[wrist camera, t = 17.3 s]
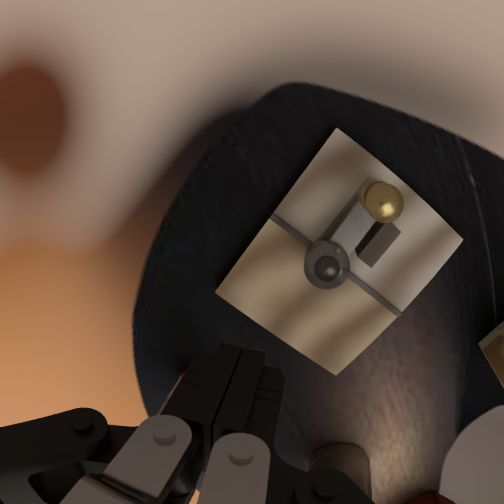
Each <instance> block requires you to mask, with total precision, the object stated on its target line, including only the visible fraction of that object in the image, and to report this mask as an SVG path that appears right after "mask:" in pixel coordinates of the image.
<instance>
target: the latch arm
mask: <svg viewBox="0 0 504 504" xmlns="http://www.w3.org/2000/svg"><path fill="white" fill-rule="evenodd" d="M403 208H404V199H403V196H402V194H401V192H400V191H399V189H397V188H396V187H395V186H393V185H391V184H389V183H386V182H384V181H382V180H380V179H377V178H370V179H367V180H365V181H364V182H363V183H362V184H361V185H360V187H359V189H358V196H357V198H356V199H355V201H354V202H353V203H352V205H351V206H350V208H349V209H348V210H347V212H346V213H345V215H344V216H343V217H342V219H341V220H340V221H339V223H338V224H337V226H336V227H335V228H334V230H333V231H332V232H331V234H330V235H329V236H328V238H321V239H318V240H316V241H314V242H313V243H312V244H310V246H309V247H308V248H307V250H306V253H305V259H304V273H305V276H306V278H307V280H308V281H309V282H310V283H311V284H312V285H313V286H315V287H317V288H320V289H333V288H336V287H338V286H340V285H341V284H343V283H344V282H345V281H346V279H347V278H348V276H349V273H350V261H349V255H350V254H351V253H352V252H353V250H354V249H355V248H356V246H357V245H358V244H359V242H360V241H361V240H362V238H363V237H364V236H365V234H366V233H367V232H368V230H369V229H370V228H371V226H372V225H373V224H374V222H375V221H378V222H380V223H390V222H393V221H395V220H396V219H397V218H399V216H400V215H401V213H402V211H403Z"/></svg>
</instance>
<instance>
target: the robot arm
mask: <svg viewBox="0 0 504 504" xmlns="http://www.w3.org/2000/svg"><path fill="white" fill-rule="evenodd" d="M266 356H267V351H264V350H258V349H253V348H247V347H244V348H243V347H241V346H235V345H230V344H225V343H221V344H220V345H219V347H218V349H217V351H216V353H215V355H214V357H213V356H208V355H204V354H202V355H201V356H199V357H198V358H196V359H195V360H193V361H192V362H191V363H190V365H189V366H188V368H187V370H186V371H185V374H184V375H183V376H182V378H181V380H180V383H178V385H177V386H176V388H175V390H174V392H173V393H172V395H171V397H170V398H169V400H168V402H167V403H166V405H165V407H164V408H163V410H162V412H161V413H160V415H156V416H152V417H149V418H148V419H146V420H144V421H143V422H142V423H141V424H140V425H139V426H136V427H128V426H116V425H108V424H107V421H106V418H105V417H104V416H103V415H102V414H101V413H100V412H98V411H97V410H94V409H91V408H76V409H72V410H69V411H65V412H61V413H58V414H54V415H51V416H47V417H43V418H39V419H35V420H30V421H26V422H22V423H18V424H13V425H9V426H4V427H0V504H189V502H190V500H191V498H192V496H193V495H194V493H195V490H196V484H197V481H198V479H199V476H200V474H201V471H204V472H206V473H205V477H204V480H203V484H202V487H201V491H200V494H199V498H198V502H197V504H375V503H374V502H373V501H372V489H371V472H370V460H369V459H367V458H366V454H365V452H364V451H363V450H362V449H361V448H360V447H358V446H355V445H351V444H332V445H328V446H325V447H322V448H320V449H318V450H317V451H315V452H314V453H313V454H312V456H311V458H310V467H309V471H308V472H305V471H303V470H300V469H298V468H295V467H293V466H291V465H289V464H287V463H286V462H284V461H283V460H282V459H281V458H280V457H279V456H278V455H277V453H276V451H275V449H274V436H275V431H276V426H277V420H278V415H279V410H280V404H281V399H282V393H283V388H284V382H285V379H284V377H283V374H282V372H281V370H280V369H279V368H273V367H267V366H265V364H266Z"/></svg>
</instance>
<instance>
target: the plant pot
mask: <svg viewBox="0 0 504 504" xmlns="http://www.w3.org/2000/svg"><path fill="white" fill-rule="evenodd" d="M406 504H455V503H454V502H453V501H451V500H449V499H448V498H446V497H444V496H442V495H440V494H438V493H436V492H435V491H431V492H428V493H426V494H424V495H423V496H421V497H419V498H417V499H415V500H413V501H410V502H408V503H406Z"/></svg>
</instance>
